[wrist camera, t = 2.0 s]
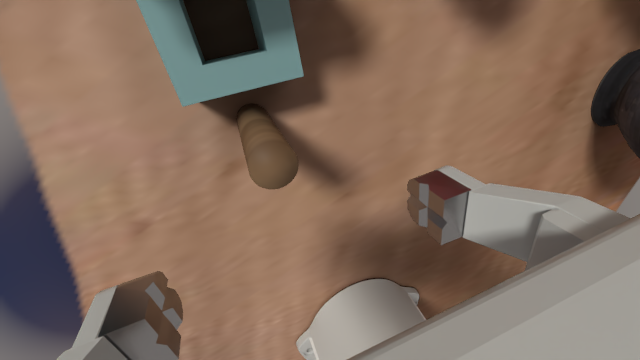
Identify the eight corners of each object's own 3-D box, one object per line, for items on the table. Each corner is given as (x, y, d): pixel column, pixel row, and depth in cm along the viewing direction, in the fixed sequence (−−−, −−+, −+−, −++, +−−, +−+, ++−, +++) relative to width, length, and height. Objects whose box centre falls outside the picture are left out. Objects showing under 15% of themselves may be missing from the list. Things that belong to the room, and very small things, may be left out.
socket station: (302, 67, 22) (346, 82, 15) (174, 98, 20) (148, 134, 13) (272, -80, 18) (315, -169, 10) (105, -58, 16) (0, -149, 8)
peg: (272, 130, 24) (303, 180, 15) (242, 138, 23) (257, 195, 15) (263, 100, 22) (292, 137, 14) (231, 108, 22) (241, 151, 13)
